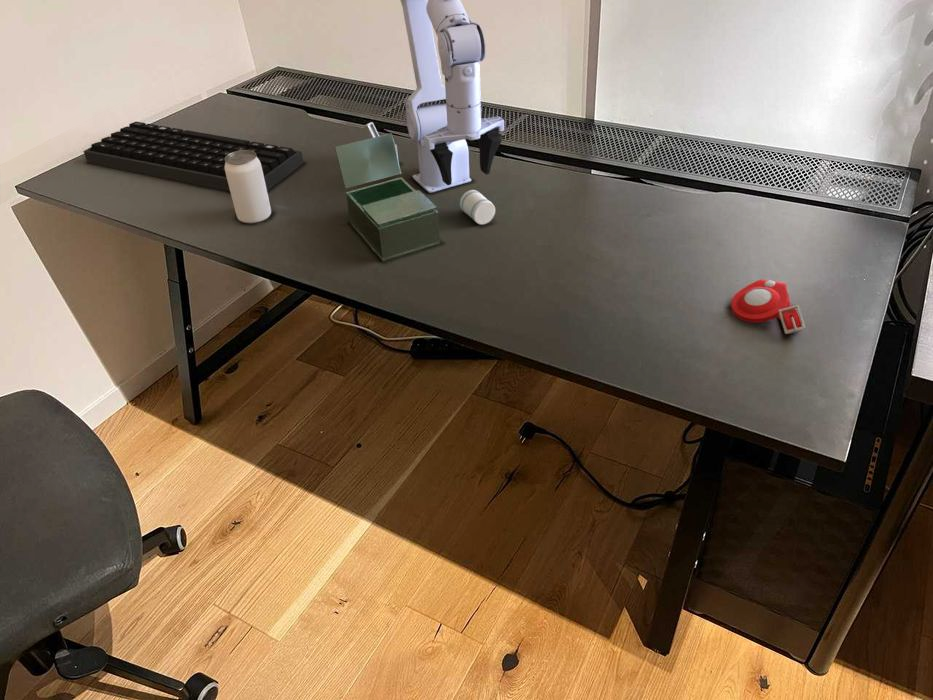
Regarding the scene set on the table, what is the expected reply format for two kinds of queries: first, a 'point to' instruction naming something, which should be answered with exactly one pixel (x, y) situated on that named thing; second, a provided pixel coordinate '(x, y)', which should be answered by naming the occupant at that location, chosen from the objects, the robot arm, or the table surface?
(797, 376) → the table surface
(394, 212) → the green lidded box
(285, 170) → the computer keyboard
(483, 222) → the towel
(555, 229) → the table surface
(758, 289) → the tracker holder
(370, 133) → the lighter
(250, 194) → the can
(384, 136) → the green flat panel
